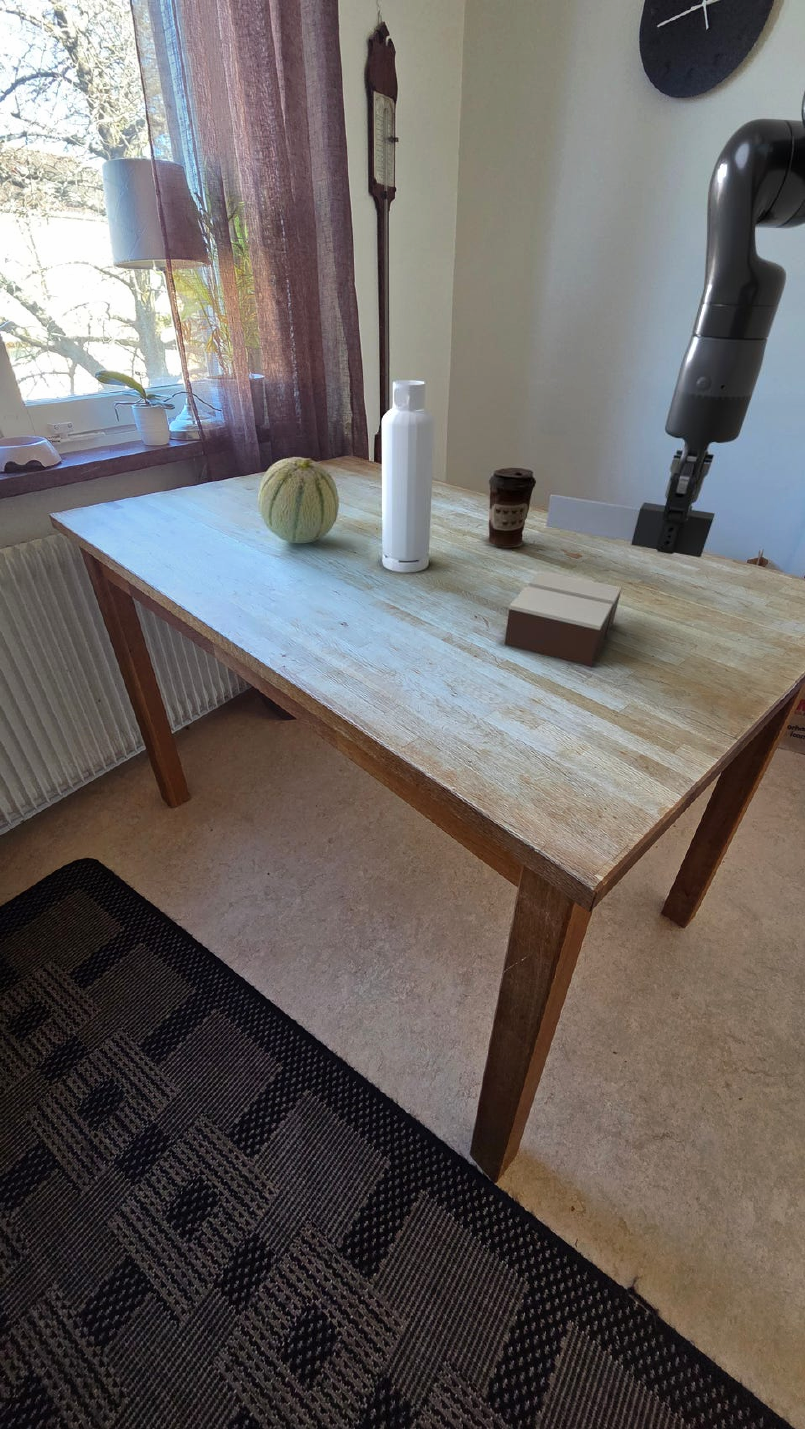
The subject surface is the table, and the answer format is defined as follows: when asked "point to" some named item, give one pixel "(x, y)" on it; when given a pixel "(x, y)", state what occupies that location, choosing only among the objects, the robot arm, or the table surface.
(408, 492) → the bottle
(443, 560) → the table surface
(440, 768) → the table surface
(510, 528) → the coffee cup
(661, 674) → the table surface
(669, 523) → the robot arm
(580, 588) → the cake slice
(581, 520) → the knife
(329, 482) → the cantaloupe
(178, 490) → the table surface
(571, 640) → the cake
